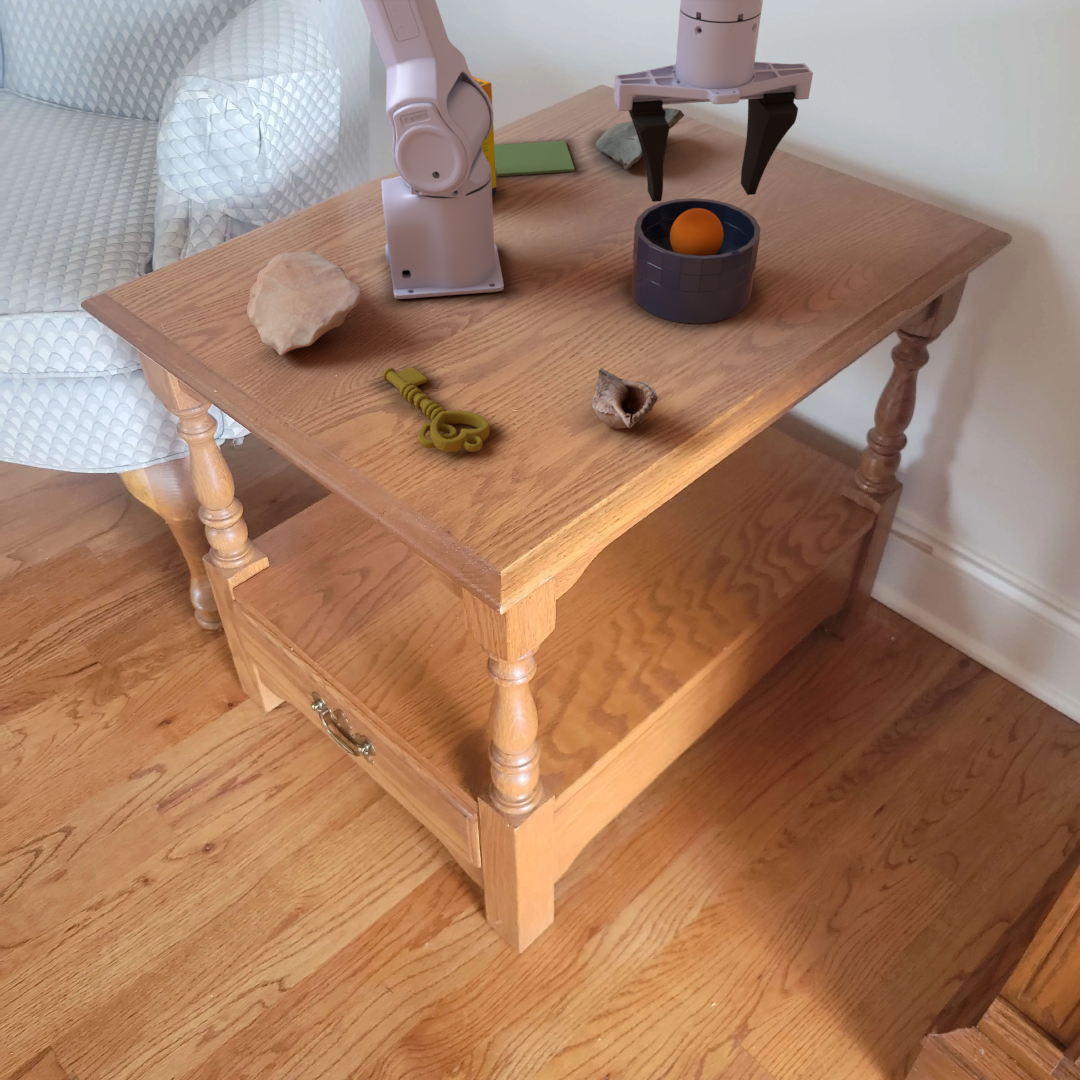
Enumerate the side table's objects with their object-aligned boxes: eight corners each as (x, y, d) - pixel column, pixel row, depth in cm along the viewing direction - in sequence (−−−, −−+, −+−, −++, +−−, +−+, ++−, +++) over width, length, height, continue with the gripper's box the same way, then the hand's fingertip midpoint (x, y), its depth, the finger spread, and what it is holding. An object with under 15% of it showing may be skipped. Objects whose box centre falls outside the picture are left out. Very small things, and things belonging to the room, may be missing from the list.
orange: (674, 275, 83) (678, 225, 80) (663, 249, 86) (666, 200, 83) (726, 271, 84) (732, 222, 81) (713, 245, 87) (719, 196, 84)
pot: (644, 328, 83) (648, 262, 79) (622, 265, 90) (625, 202, 86) (764, 318, 84) (775, 253, 80) (733, 257, 91) (741, 194, 87)
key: (411, 372, 80) (356, 391, 77) (411, 358, 79) (355, 376, 76) (503, 445, 73) (446, 468, 71) (503, 430, 72) (446, 454, 70)
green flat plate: (497, 176, 103) (497, 174, 103) (491, 147, 108) (491, 145, 108) (574, 171, 104) (574, 168, 104) (565, 142, 109) (565, 140, 109)
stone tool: (257, 346, 77) (212, 264, 87) (295, 386, 80) (247, 303, 90) (349, 274, 77) (294, 200, 87) (383, 316, 80) (326, 241, 90)
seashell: (648, 451, 74) (598, 456, 73) (618, 369, 78) (570, 373, 77) (666, 412, 70) (613, 417, 69) (632, 328, 74) (582, 332, 73)
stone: (578, 184, 104) (670, 168, 100) (569, 145, 102) (662, 127, 98) (609, 151, 112) (696, 135, 108) (601, 114, 110) (689, 97, 106)
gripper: (629, 34, 68) (621, 222, 77) (838, 22, 69) (804, 209, 79) (611, 1, 73) (605, 181, 82) (806, -10, 74) (778, 169, 84)
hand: (701, 192), depth 81 cm, fingers open, 7 cm apart
